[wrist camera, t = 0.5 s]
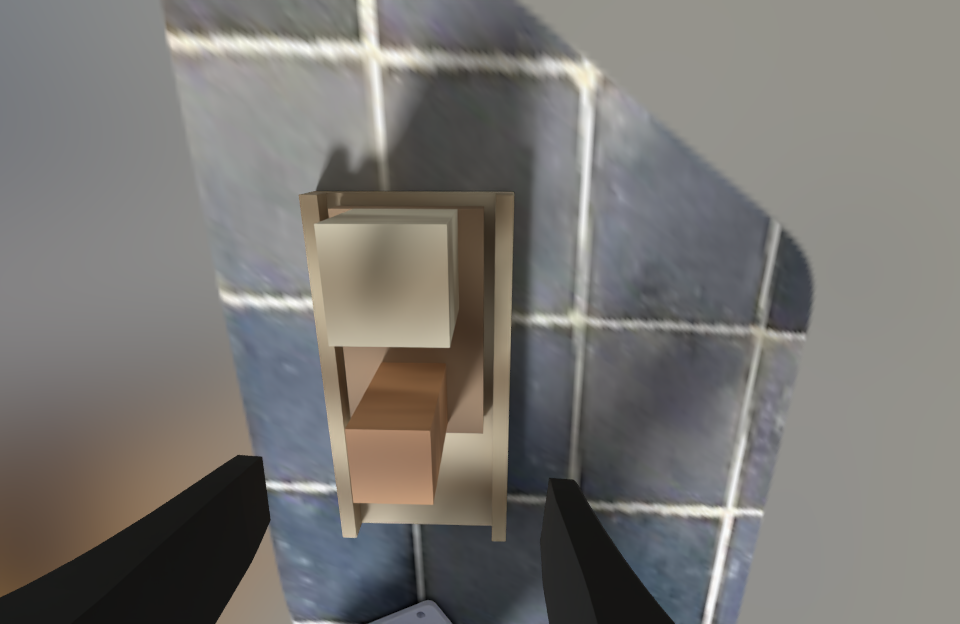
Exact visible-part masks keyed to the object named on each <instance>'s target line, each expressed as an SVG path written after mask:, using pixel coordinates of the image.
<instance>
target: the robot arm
mask: <svg viewBox="0 0 960 624" xmlns="http://www.w3.org/2000/svg"><path fill="white" fill-rule="evenodd" d="M269 522H270V512H269V505H268V497H267V490H266V482H265V475H264V467H263V460H262V457H259V456H245V455H237V456H236V457H234V458H232V459H231V460H229V461H228V462H226V463H225V464H223V465H222V466H220V467H219V468H217V469H216V470H214V471H213V472H211V473H210V474H208V475H207V476H205V477H204V478H202V479H201V480H199V481H198V482H196V483H195V484H193V485H192V486H190V487H189V488H188V489H186V490H184V491H183V492H182V493H180V494H178V495H177V496H176V497H174V498H172V499H171V500H170V501H168V502H166V503H165V504H163V505H162V506H160V507H159V508H157V509H156V510H154V511H153V512H151V513H150V514H148V515H147V516H145V517H143V518H142V519H140V520H138V521H137V522H135V523H134V524H132V525H131V526H129V527H127V528H126V529H124V530H122V531H121V532H119V533H117V534H116V535H114V536H113V537H111V538H109V539H108V540H106V541H105V542H103V543H101V544H100V545H98V546H96V547H95V548H93V549H91V550H89V551H88V552H86V553H84V554H82V555H81V556H79V557H77V558H75V559H74V560H72V561H70V562H68V563H66V564H64V565H63V566H61V567H59V568H57V569H55V570H53V571H52V572H50V573H48V574H46V575H44V576H42V577H40V578H39V579H37V580H35V581H33V582H31V583H29V584H27V585H25V586H23V587H21V588H19V589H17V590H15V591H13V592H11V593H9V594H7V595H5V596H2V597H0V624H215V623H216V622H217V620H218V618H219V617H220V615H221V613H222V612H223V610H224V608H225V606H226V605H227V603H228V602H229V600H230V598H231V597H232V595H233V593H234V592H235V590H236V588H237V586H238V585H239V583H240V581H241V580H242V578H243V576H244V575H245V573H246V571H247V569H248V568H249V566H250V564H251V562H252V560H253V558H254V556H255V554H256V552H257V550H258V548H259V545H260V543H261V541H262V539H263V536H264V534H265V532H266V529H267V527H268V525H269ZM540 545H541V563H542V579H543V588H544V594H545V601H546V607H547V613H548V619H549V624H675V623H674V622H673V620H672V619H671V618H670V617H669V616H668V615H667V614H666V612H665V611H664V610H663V609H662V607H661V606H660V605H659V604H658V603H657V601H656V600H655V599H654V598H653V596H652V595H651V594H650V592H649V591H648V590H647V589H646V587H645V586H644V585H643V583H642V582H641V581H640V579H639V578H638V577H637V575H636V574H635V573H634V571H633V570H632V569H631V567H630V566H629V564H628V563H627V562H626V560H625V559H624V557H623V556H622V555H621V553H620V552H619V550H618V549H617V547H616V546H615V544H614V543H613V541H612V540H611V538H610V537H609V535H608V534H607V532H606V531H605V529H604V528H603V526H602V525H601V523H600V521H599V520H598V518H597V517H596V515H595V513H594V512H593V510H592V508H591V507H590V505H589V503H588V502H587V500H586V498H585V497H584V495H583V493H582V491H581V489H580V488H579V486H578V484H577V483H576V482H575V481H574V480H570V479H557V478H549V483H548V490H547V497H546V504H545V511H544V518H543V525H542V532H541V539H540ZM368 624H452V623H451V621H450V620H449V619H448V618H447V617H446V615H445V614H444V613H443V612H442V610H441V609H440V608H439V607H438V606H437V604H436V603H435V602H433V601H431V600H426V601H423V602H420V603H418V604H416V605H413V606H411V607H408V608H406V609H403V610H401V611H398V612H396V613H393V614H391V615H388V616H386V617H383V618H381V619H378V620H376V621H373V622H371V623H368Z"/></svg>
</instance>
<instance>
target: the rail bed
mask: <svg viewBox="0 0 960 624" xmlns="http://www.w3.org/2000/svg"><path fill="white" fill-rule="evenodd" d="M299 200H300V208H301V216H302V224H303V231H304V239H305V247H306V255H307V262H308V270H309V278H310V286H311V293H312V301H313V309H314V316H315V324H316V332H317V340H318V347H319V355H320V363H321V371H322V378H323V386H324V394H325V402H326V409H327V417H328V425H329V433H330V440H331V448H332V456H333V463H334V471H335V479H336V487H337V494H338V502H339V510H340V518H341V525H342V533H343V537H350V538H357V535H358V532H359V530H360V527H361V524H362V523H400V524H441V525H481V526H492V541H505V542H506V512H507V471H508V431H509V390H510V350H511V309H512V269H513V228H514V192H434V191H314V192H309V193H305V194H300V195H299ZM335 206H484V424H483V434H478V433H446V436H445V442H444V447H443V453H442V459H441V464H440V470H439V476H438V481H437V487H436V493H435V498H434V504H433V505H420V504H377V503H353V495H352V487H351V478H350V469H349V461H348V452H347V443H346V435H345V428H346V426H347V424H348V423H349V421H350V419H351V415H350V406H349V397H348V388H347V379H346V370H345V360H344V351H343V346H329V344H328V335H327V327H326V319H325V311H324V302H323V294H322V286H321V278H320V269H319V261H318V253H317V244H316V236H315V228H314V224H315V223H318V222H320V221H323V220H325V219H328V218H329V214H328V208H332V207H335Z"/></svg>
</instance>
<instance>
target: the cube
mask: <svg viewBox="0 0 960 624" xmlns="http://www.w3.org/2000/svg"><path fill="white" fill-rule="evenodd" d="M314 228H315V236H316V244H317V253H318V261H319V269H320V278H321V286H322V294H323V302H324V311H325V319H326V327H327V335H328V344H329V346H350V347H426V348H450V345H451V341H452V336H453V332H454V328H455V324H456V319H457V315H458V311H459V273H458V210H457V209H351V210H349V211H346V212H344V213H341V214H338V215H336V216H333V217H331V218H328V219H325V220H323V221H320V222H318V223H315V224H314Z"/></svg>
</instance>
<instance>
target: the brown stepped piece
mask: <svg viewBox="0 0 960 624" xmlns="http://www.w3.org/2000/svg"><path fill="white" fill-rule="evenodd" d="M351 209H457V210H458V273H459V311H458V315H457V319H456V324H455V328H454V332H453V336H452V341H451V345H450V348H426V347H350V346H343V351H344V360H345V370H346V379H347V388H348V397H349V406H350V415H351V419H350V421H349V423H348V424H347V426H346V428H345V435H346V443H347V452H348V461H349V469H350V478H351V487H352V495H353V503H377V504H420V505H433V504H434V498H435V493H436V487H437V481H438V476H439V470H440V464H441V459H442V453H443V447H444V442H445V436H446V433H478V434H483V424H484V206H335V207H332V208H328V214H329V218H331V217H333V216H336V215H338V214H341V213H344V212H346V211H349V210H351Z"/></svg>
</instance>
